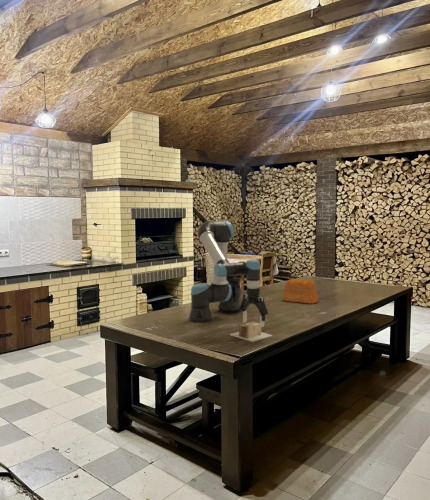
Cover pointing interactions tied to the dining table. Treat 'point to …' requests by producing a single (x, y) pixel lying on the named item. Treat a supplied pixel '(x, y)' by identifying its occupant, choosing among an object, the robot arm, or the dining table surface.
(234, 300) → the beer stein
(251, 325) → the oak block
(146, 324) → the dining table surface
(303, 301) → the bread
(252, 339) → the felt mat
